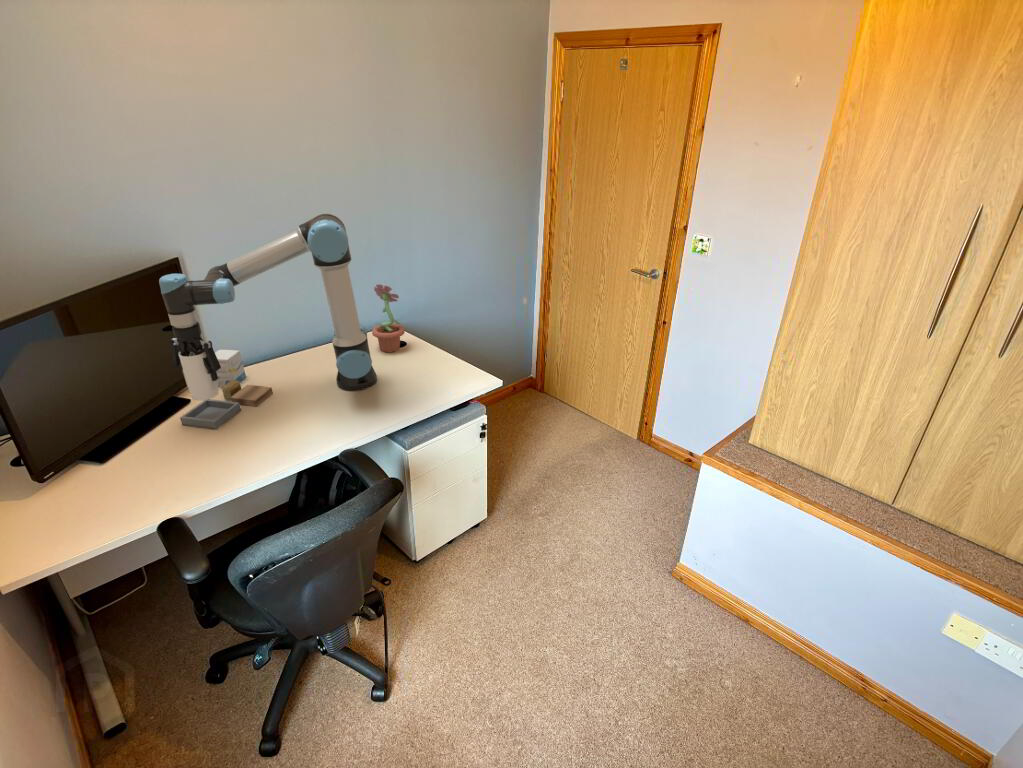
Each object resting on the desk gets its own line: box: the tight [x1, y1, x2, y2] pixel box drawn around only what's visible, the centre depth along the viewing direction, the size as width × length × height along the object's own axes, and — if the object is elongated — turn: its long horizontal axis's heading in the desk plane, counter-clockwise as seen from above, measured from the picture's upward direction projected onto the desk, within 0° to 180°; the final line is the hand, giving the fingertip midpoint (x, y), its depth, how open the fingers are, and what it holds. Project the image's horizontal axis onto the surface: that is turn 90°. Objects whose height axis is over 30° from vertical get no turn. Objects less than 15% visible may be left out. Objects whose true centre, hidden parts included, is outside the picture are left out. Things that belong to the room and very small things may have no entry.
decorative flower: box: [371, 283, 405, 353], centre depth 231 cm, size 15×14×30 cm
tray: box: [179, 398, 242, 431], centre depth 185 cm, size 13×13×3 cm
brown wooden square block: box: [230, 384, 274, 407], centre depth 198 cm, size 10×10×3 cm
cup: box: [179, 350, 220, 402], centre depth 178 cm, size 8×8×16 cm
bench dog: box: [221, 380, 242, 401], centre depth 198 cm, size 3×6×5 cm, turn 169°
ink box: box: [214, 349, 247, 387], centre depth 207 cm, size 8×8×12 cm
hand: (203, 387), depth 180 cm, fingers closed on cup, 8 cm apart
